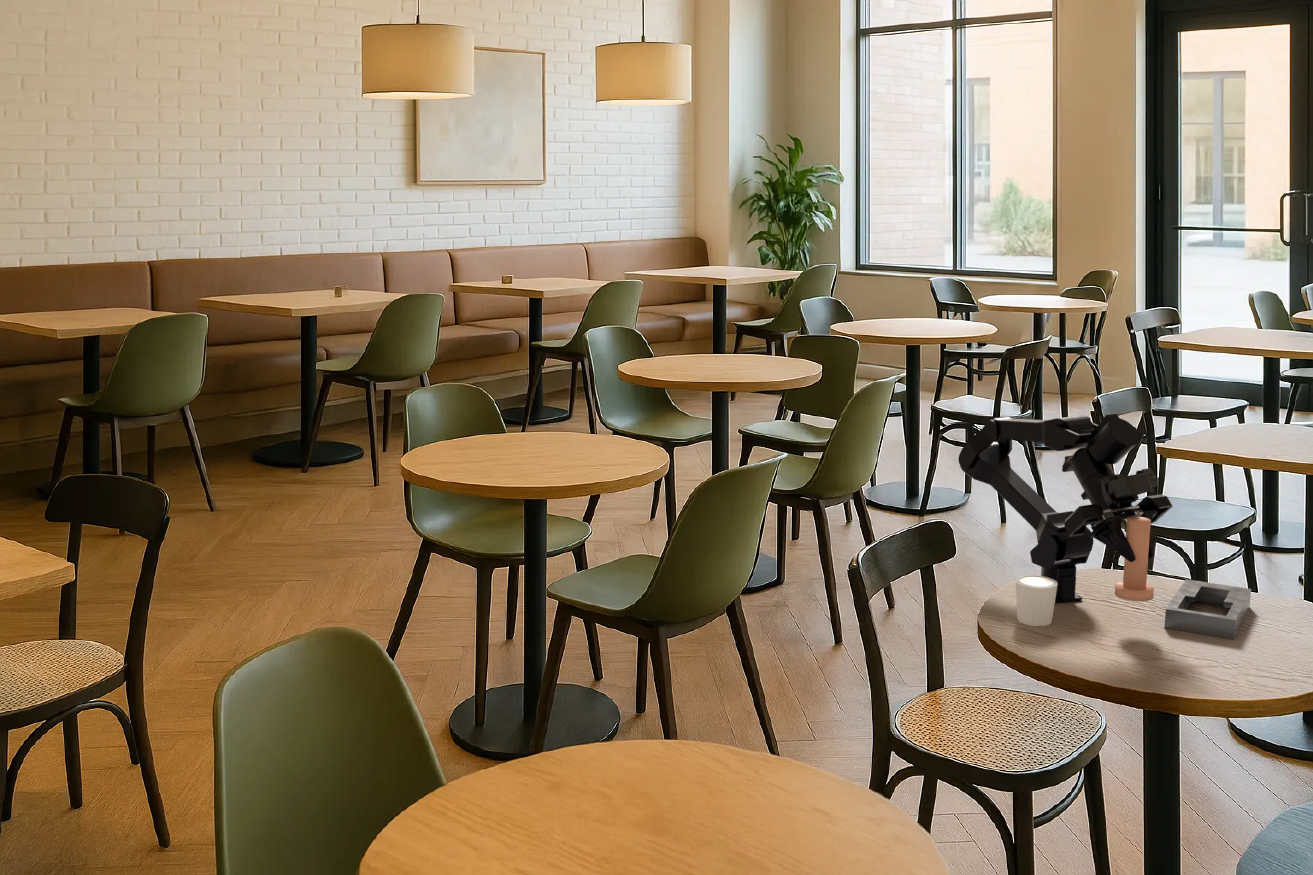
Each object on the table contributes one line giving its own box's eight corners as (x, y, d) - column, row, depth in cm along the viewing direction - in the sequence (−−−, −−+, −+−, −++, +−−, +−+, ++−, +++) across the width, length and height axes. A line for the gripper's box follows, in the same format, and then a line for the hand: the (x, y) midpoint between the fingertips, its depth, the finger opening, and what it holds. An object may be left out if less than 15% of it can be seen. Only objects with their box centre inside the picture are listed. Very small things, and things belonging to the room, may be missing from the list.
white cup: (1050, 613, 212) (1052, 574, 211) (1059, 627, 205) (1061, 587, 204) (1010, 612, 213) (1011, 574, 211) (1017, 626, 206) (1019, 587, 205)
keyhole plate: (1233, 639, 199) (1235, 620, 199) (1164, 627, 205) (1165, 608, 204) (1249, 607, 214) (1251, 589, 213) (1184, 596, 220) (1185, 579, 219)
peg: (1107, 591, 206) (1111, 516, 203) (1139, 588, 207) (1144, 513, 204) (1128, 602, 200) (1133, 525, 198) (1161, 599, 201) (1166, 522, 199)
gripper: (1080, 458, 199) (1126, 541, 191) (1167, 447, 206) (1215, 527, 198) (1044, 495, 208) (1087, 576, 200) (1130, 483, 215) (1174, 560, 207)
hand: (1142, 559), depth 201 cm, fingers closed on peg, 4 cm apart
